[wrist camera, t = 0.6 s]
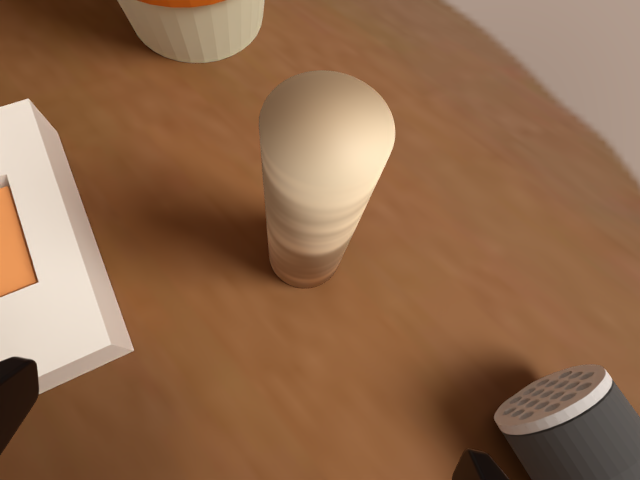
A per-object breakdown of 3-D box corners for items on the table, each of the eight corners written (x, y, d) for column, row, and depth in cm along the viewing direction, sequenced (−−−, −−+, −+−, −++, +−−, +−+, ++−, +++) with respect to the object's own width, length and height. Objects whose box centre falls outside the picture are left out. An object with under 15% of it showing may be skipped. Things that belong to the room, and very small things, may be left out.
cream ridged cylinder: (352, 270, 23) (420, 155, 12) (287, 300, 22) (295, 207, 11) (320, 210, 24) (355, 55, 13) (257, 237, 23) (237, 94, 12)
